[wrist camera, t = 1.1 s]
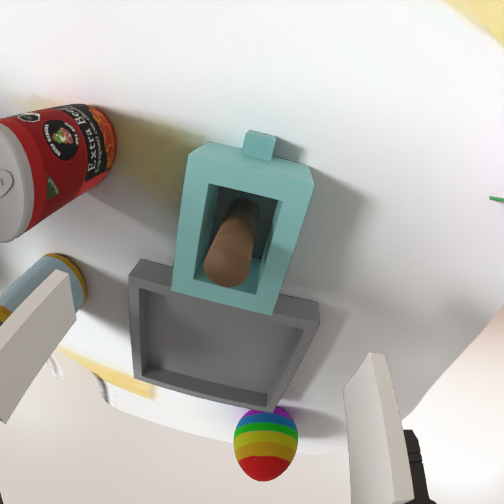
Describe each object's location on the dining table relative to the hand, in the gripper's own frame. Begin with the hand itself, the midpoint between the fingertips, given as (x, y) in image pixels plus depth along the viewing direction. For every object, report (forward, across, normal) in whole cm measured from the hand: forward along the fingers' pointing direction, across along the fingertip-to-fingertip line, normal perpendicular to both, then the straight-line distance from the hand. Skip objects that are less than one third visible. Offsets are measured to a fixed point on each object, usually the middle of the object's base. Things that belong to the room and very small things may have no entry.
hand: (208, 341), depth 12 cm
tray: (+14, 0, -14) cm, 20 cm away
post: (+14, 0, 0) cm, 14 cm away
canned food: (+14, -15, +3) cm, 21 cm away
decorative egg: (+14, +9, -27) cm, 32 cm away
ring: (+14, 0, 0) cm, 14 cm away
